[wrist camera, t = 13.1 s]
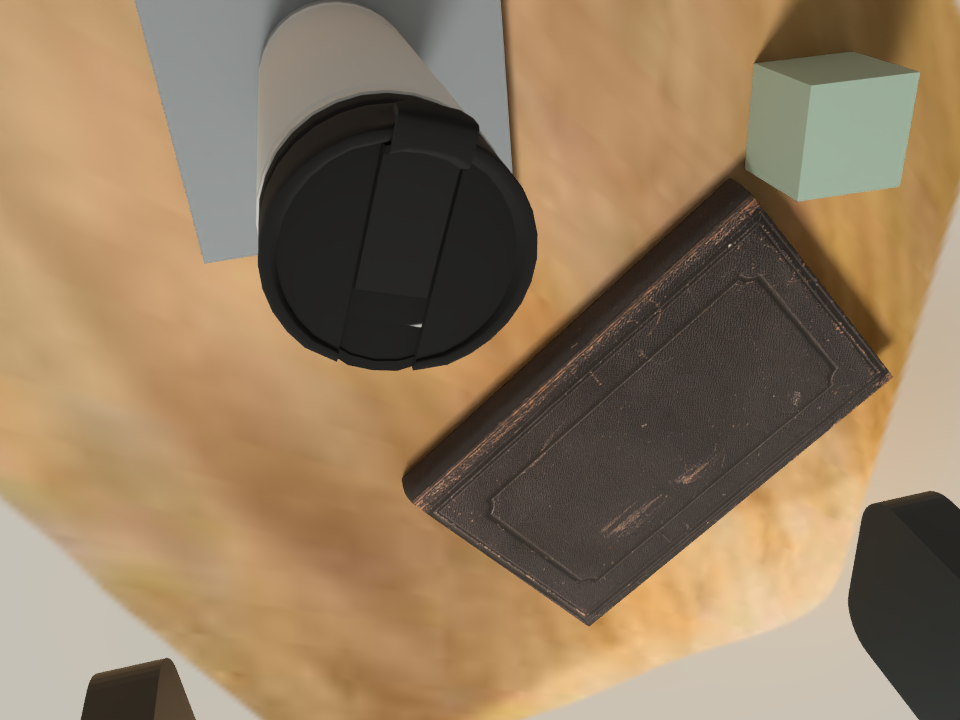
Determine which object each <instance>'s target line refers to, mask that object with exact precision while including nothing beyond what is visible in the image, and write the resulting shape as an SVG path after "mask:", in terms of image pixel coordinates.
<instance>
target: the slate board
mask: <svg viewBox="0 0 960 720" xmlns="http://www.w3.org/2000/svg"><path fill="white" fill-rule="evenodd" d="M315 1H318V0H135V3H136V7H137V11H138V15H139V18H140V22H141V26H142V30H143V34H144V37H145V41H146V45H147V49H148V52H149V56H150V60H151V64H152V67H153V71H154V75H155V79H156V83H157V86H158V90H159V94H160V98H161V101H162V105H163V109H164V113H165V116H166V120H167V124H168V128H169V132H170V135H171V139H172V143H173V147H174V150H175V154H176V158H177V162H178V165H179V169H180V173H181V177H182V181H183V184H184V188H185V192H186V196H187V199H188V203H189V207H190V211H191V214H192V218H193V222H194V226H195V230H196V233H197V237H198V241H199V245H200V248H201V252H202V256H203V260H204V263H211V262H217V261H223V260H229V259H236V258H242V257H248V256H254V255H258V231H257V226H256V195H257V140H258V86H259V63H260V59H261V55H262V50H263V48H264V46H265V44H266V41H267V39H268V37H269V35H270V34H271V32H272V31H273V30H274V28H275V27H276V26H277V24H278V23H279V22H280V21H281V20H282V19H283V18H285V17H286V16H287V15H288V14H289V13H290V12H292V11H294V10H295V9H297V8H299V7H301V6H303V5H305V4H308V3H311V2H315ZM350 1H354V2H357V3H360V4H362V5H365V6H368V7H369V8H371V9H373V10H374V11H376V12H378V13H379V14H381V15H382V16H383V17H384V18H385V19H387V20H388V21H389V22H390V23H391V24H392V25H393V26H394V27H395V28H396V30H397V31H398V32H399V33H400V34H401V36H402V37H403V38H404V39H405V40H406V42H407V43H408V44H409V45H410V46H411V48H412V49H413V50H414V51H415V52H416V54H417V55H418V56H419V57H420V58H421V60H422V61H423V62H424V63H425V65H426V66H427V67H428V68H429V69H430V71H431V72H432V73H433V74H434V75H435V77H436V78H437V79H438V80H439V81H440V83H441V84H442V85H443V86H444V87H445V89H446V90H447V91H448V92H449V93H450V95H451V96H452V97H453V98H454V99H455V101H456V102H457V103H458V104H459V105H460V107H461V108H462V109H463V110H464V111H465V113H466V114H468V115H469V116H471V117H472V118H474V119H475V121H476V122H477V123H478V124H479V130H480V131H481V132H482V134H483V135H484V136H485V138H486V139H487V140H488V142H489V143H490V144H491V146H492V147H493V148H494V150H495V152H496V154H497V155H498V157H499V158H500V159H501V160H502V162H503V163H504V164H505V165H506V166H507V168H508V169H509V170H510V172H511V173H512V158H511V144H510V129H509V115H508V100H507V86H506V71H505V57H504V42H503V28H502V13H501V0H350ZM512 174H513V173H512Z"/></svg>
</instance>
